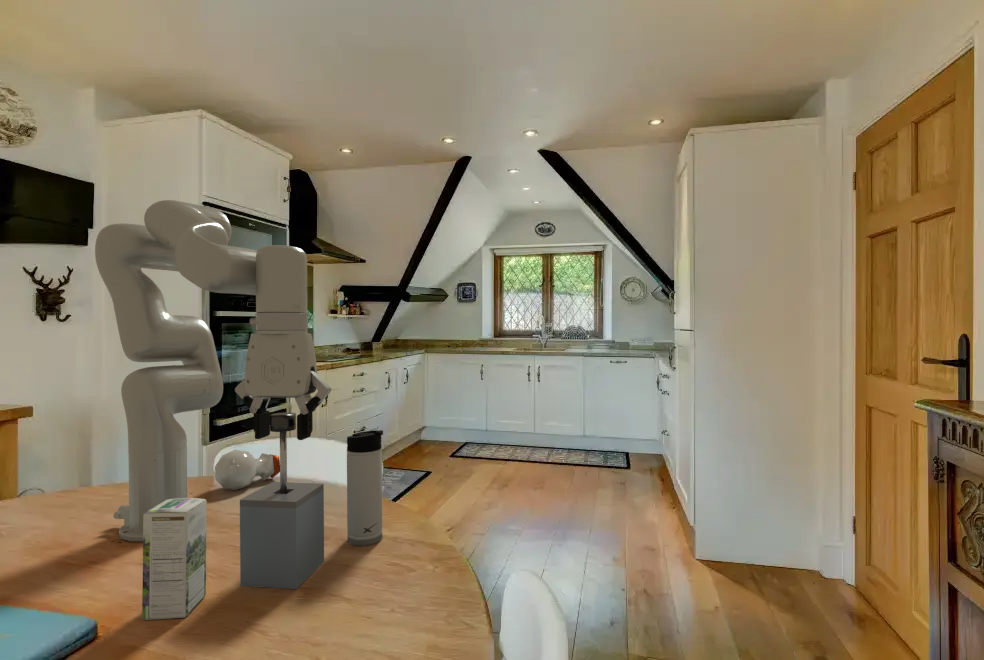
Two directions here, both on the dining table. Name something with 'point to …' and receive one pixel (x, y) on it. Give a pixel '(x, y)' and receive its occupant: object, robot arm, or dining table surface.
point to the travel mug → (364, 488)
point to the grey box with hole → (281, 535)
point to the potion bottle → (244, 469)
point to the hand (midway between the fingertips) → (283, 436)
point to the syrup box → (174, 558)
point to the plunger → (283, 441)
